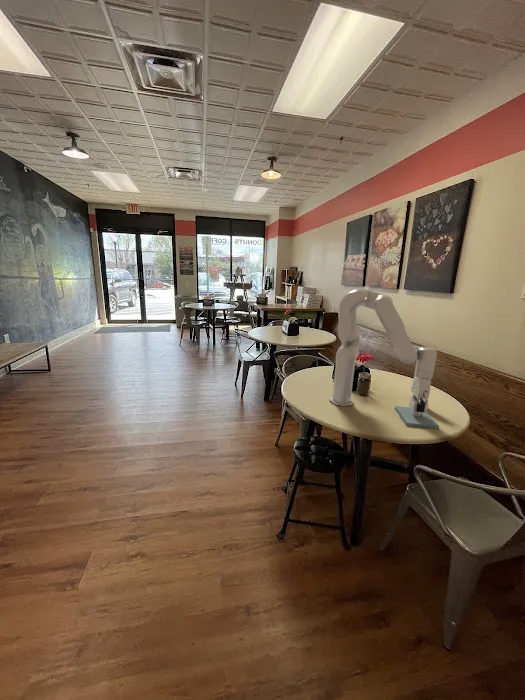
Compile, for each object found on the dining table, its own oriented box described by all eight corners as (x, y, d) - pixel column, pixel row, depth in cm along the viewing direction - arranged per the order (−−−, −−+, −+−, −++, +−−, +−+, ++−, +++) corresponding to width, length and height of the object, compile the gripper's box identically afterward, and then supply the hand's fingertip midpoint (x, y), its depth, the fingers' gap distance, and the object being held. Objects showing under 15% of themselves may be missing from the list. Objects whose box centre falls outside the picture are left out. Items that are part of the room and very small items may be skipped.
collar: (408, 406, 144) (410, 396, 143) (421, 407, 143) (423, 397, 142) (413, 411, 138) (414, 401, 137) (426, 412, 138) (428, 403, 136)
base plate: (394, 408, 152) (396, 399, 150) (423, 411, 150) (425, 401, 148) (406, 425, 134) (408, 414, 133) (438, 429, 133) (440, 418, 131)
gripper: (408, 367, 145) (403, 400, 149) (422, 378, 128) (415, 416, 133) (424, 368, 144) (418, 402, 149) (440, 380, 127) (433, 417, 132)
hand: (417, 408), depth 141 cm, fingers closed on collar, 6 cm apart
